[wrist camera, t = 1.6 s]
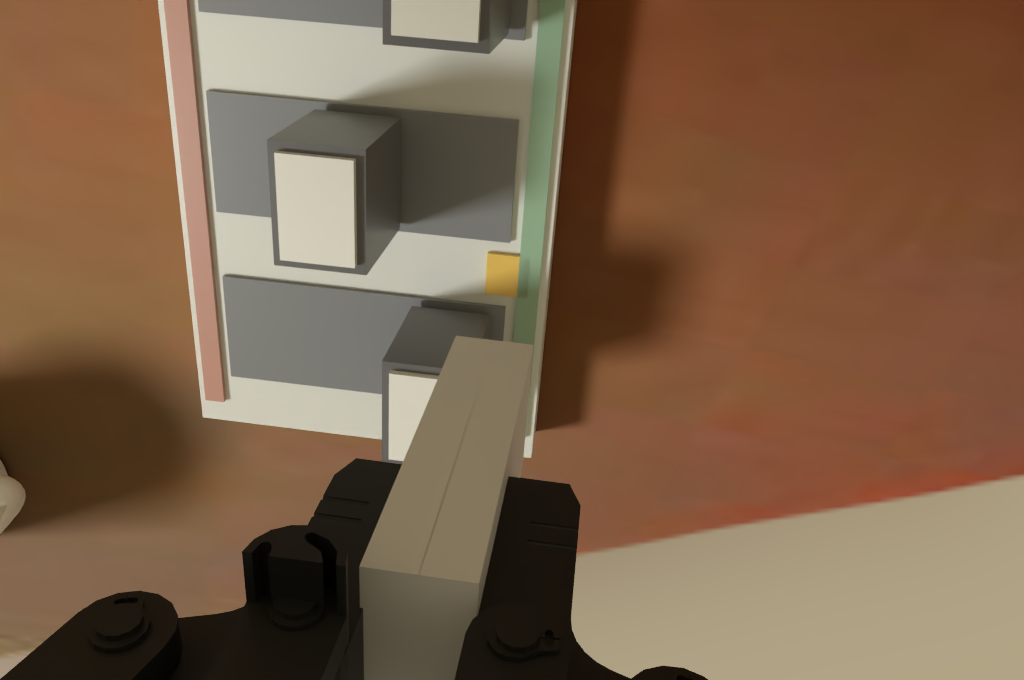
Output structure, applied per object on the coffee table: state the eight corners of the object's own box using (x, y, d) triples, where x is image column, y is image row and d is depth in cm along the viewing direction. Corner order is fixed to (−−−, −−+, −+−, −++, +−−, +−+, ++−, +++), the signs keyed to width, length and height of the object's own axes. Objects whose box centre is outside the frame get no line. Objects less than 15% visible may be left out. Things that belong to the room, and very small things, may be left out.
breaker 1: (318, 220, 31) (271, 268, 27) (314, 109, 30) (263, 141, 25) (399, 228, 31) (364, 278, 27) (401, 117, 29) (363, 151, 25)
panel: (222, 393, 38) (200, 419, 36) (137, -507, 25) (95, -543, 23) (535, 431, 37) (530, 460, 35) (624, -486, 24) (624, -521, 22)
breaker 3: (410, 397, 34) (379, 465, 30) (411, 306, 32) (380, 364, 28) (484, 406, 34) (465, 476, 30) (490, 314, 32) (470, 375, 28)
